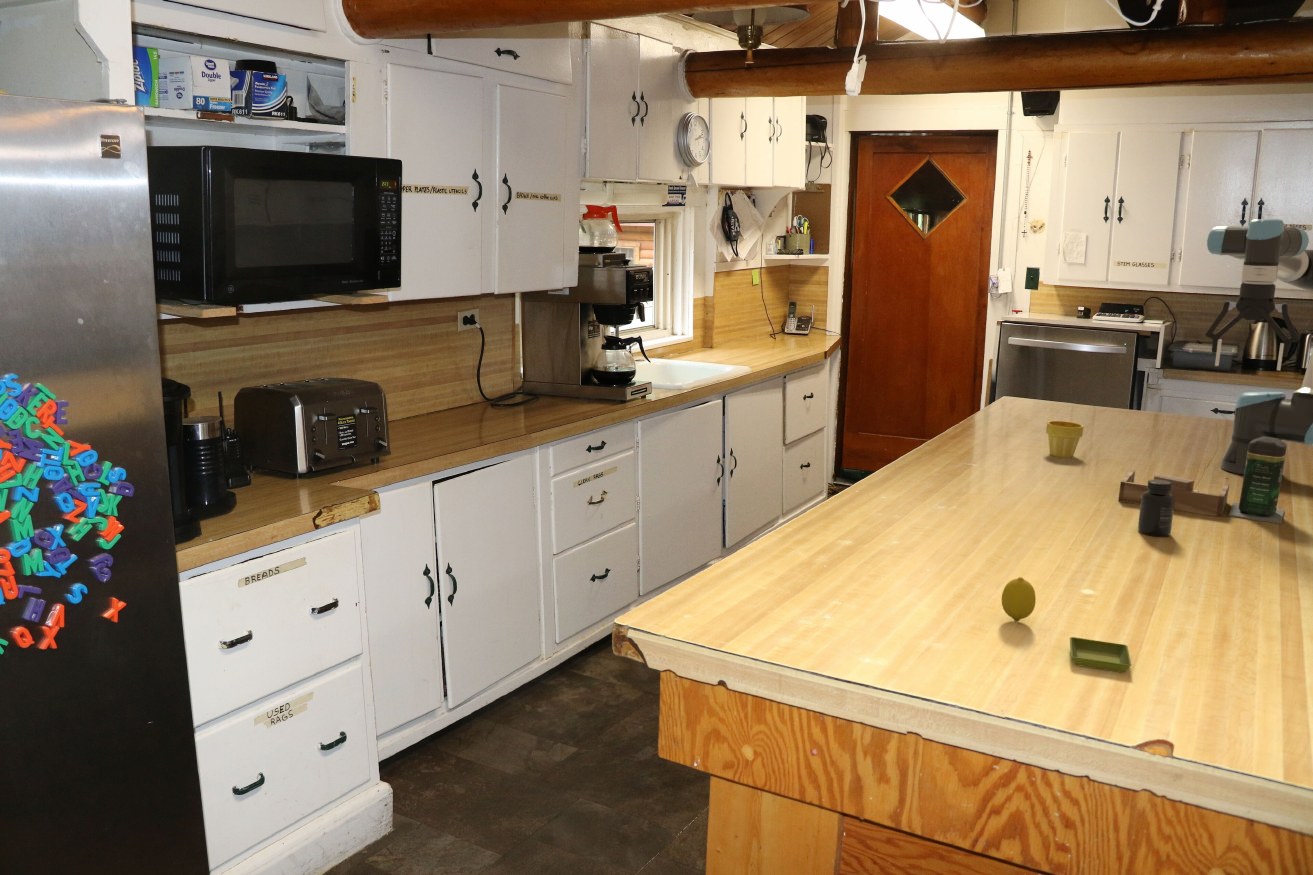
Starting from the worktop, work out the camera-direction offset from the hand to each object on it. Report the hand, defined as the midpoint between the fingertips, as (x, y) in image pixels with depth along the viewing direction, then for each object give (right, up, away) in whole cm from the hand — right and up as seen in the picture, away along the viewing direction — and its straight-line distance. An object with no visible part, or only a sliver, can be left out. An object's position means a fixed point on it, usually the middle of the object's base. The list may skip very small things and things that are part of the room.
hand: (1247, 367), depth 258 cm
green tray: (-79, -54, -96) cm, 135 cm away
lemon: (-87, -50, -80) cm, 128 cm away
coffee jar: (-2, -36, -8) cm, 37 cm away
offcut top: (-20, -30, -3) cm, 37 cm away
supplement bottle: (-36, -39, -26) cm, 60 cm away
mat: (-2, -36, -8) cm, 37 cm away
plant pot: (-26, -23, +52) cm, 63 cm away
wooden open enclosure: (-18, -34, +1) cm, 39 cm away
